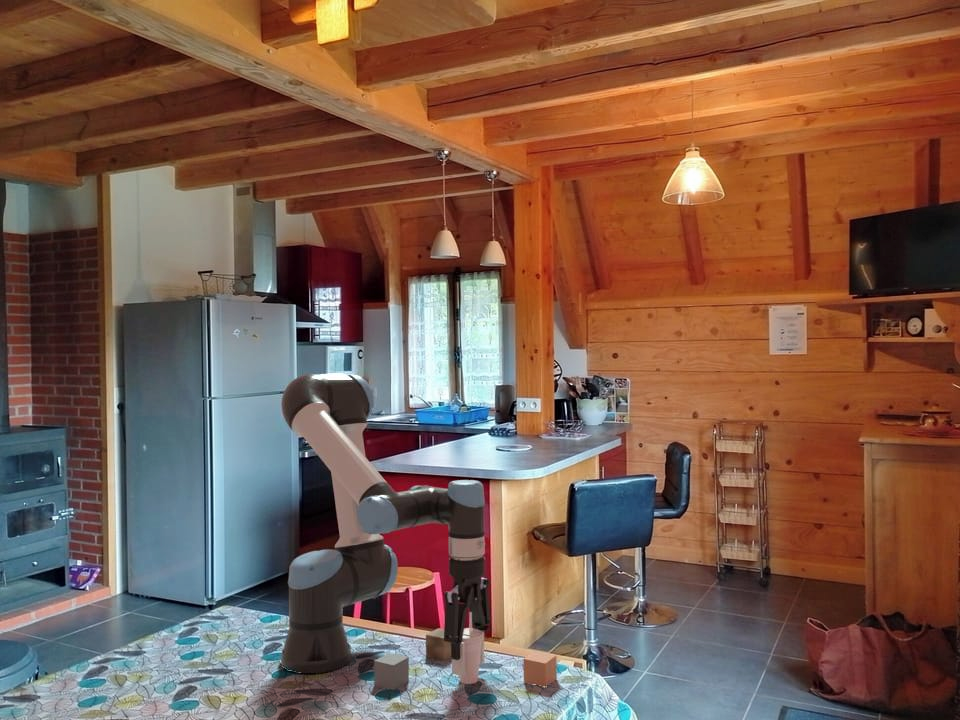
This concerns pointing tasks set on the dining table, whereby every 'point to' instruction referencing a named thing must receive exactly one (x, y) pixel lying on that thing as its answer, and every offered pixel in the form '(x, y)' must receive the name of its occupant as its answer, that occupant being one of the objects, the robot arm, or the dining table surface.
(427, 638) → the walnut block
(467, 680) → the smoothie
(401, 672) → the grey cube
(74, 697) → the dining table surface
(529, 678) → the terracotta block
